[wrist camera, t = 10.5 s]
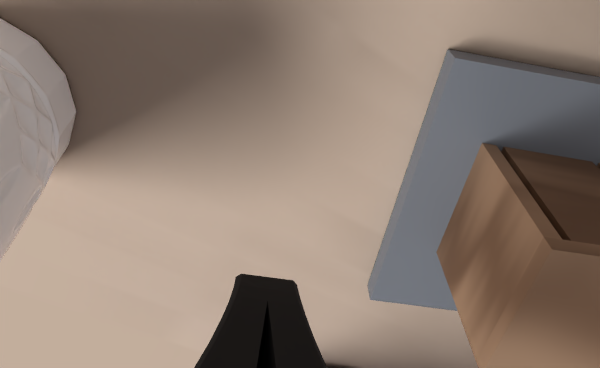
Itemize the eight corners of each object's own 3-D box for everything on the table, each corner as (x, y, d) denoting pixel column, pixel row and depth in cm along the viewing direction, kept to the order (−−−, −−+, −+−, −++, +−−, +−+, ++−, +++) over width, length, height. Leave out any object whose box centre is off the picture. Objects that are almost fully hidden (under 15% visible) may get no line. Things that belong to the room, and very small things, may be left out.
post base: (556, 309, 27) (605, 394, 23) (367, 285, 26) (382, 369, 22) (688, 93, 21) (788, 154, 17) (447, 49, 20) (490, 102, 16)
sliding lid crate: (552, 268, 25) (630, 392, 19) (436, 252, 24) (481, 375, 18) (612, 164, 22) (725, 274, 16) (481, 142, 21) (552, 249, 15)
